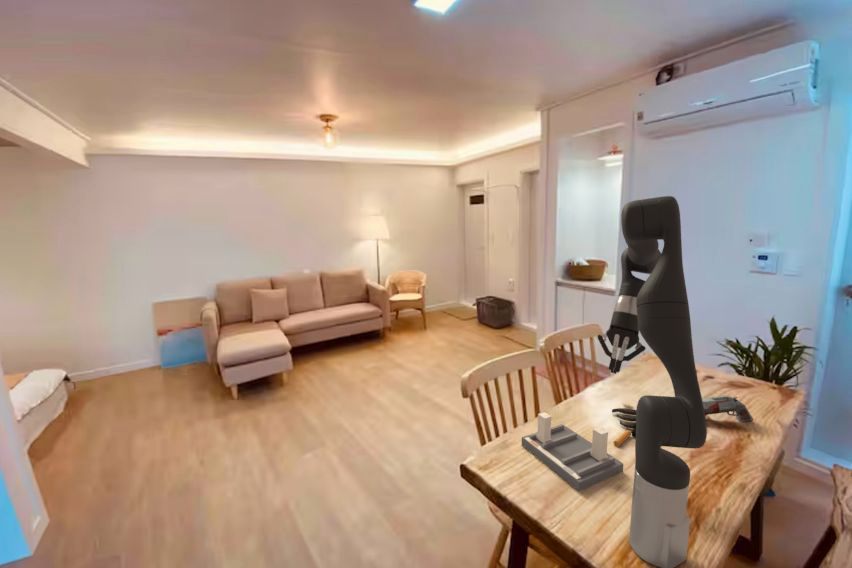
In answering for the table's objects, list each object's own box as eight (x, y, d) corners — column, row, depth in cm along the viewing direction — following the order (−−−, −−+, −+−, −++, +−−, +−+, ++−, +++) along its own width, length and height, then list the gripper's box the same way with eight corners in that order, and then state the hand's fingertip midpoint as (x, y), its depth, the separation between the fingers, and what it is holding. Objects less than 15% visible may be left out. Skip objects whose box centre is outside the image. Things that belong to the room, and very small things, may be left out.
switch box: (622, 472, 102) (623, 459, 101) (578, 491, 95) (579, 478, 95) (561, 431, 122) (562, 420, 121) (521, 444, 115) (521, 433, 114)
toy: (676, 472, 103) (698, 424, 124) (677, 460, 102) (699, 414, 123) (590, 439, 118) (622, 402, 139) (590, 429, 118) (623, 393, 139)
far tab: (551, 442, 111) (552, 417, 110) (544, 444, 110) (545, 419, 109) (542, 436, 114) (543, 411, 113) (536, 438, 113) (537, 413, 112)
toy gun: (681, 423, 131) (678, 396, 129) (747, 417, 127) (744, 389, 125) (688, 430, 126) (685, 402, 125) (756, 424, 122) (753, 395, 121)
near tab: (607, 459, 103) (609, 432, 101) (601, 462, 102) (602, 435, 100) (596, 452, 106) (598, 426, 104) (590, 455, 105) (591, 428, 103)
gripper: (602, 306, 109) (587, 364, 107) (655, 317, 103) (640, 380, 101) (603, 311, 116) (589, 366, 113) (652, 322, 109) (639, 381, 107)
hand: (613, 372), depth 107 cm, fingers closed
